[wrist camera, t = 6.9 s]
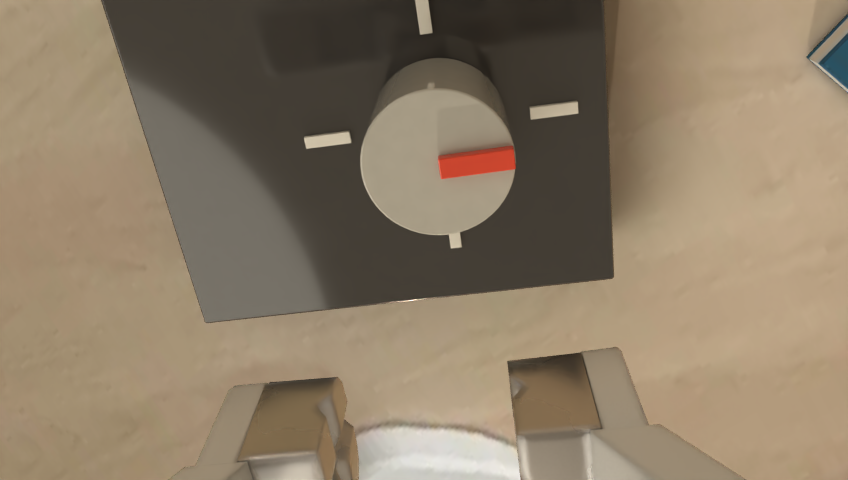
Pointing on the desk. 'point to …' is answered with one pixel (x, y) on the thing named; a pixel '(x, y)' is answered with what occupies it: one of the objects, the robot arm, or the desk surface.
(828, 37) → the sketchbook
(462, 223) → the knob
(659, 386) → the desk surface
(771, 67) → the desk surface
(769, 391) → the desk surface
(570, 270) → the dial base plate
